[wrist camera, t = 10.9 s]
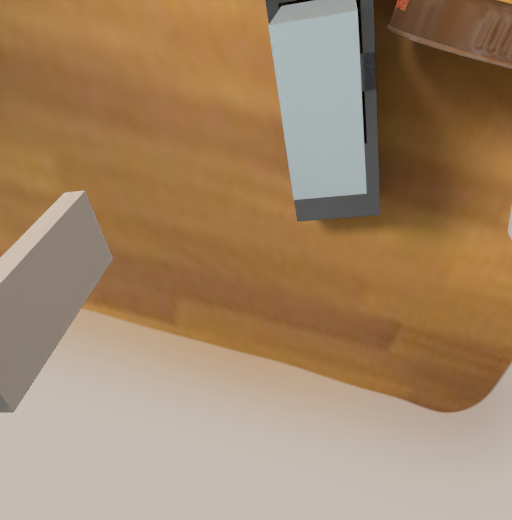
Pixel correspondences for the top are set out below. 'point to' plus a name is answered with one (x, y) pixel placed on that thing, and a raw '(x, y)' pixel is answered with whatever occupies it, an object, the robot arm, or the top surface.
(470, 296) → the top surface
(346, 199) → the board
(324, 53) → the pale blue upright block
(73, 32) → the top surface
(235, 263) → the top surface
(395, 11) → the tin
